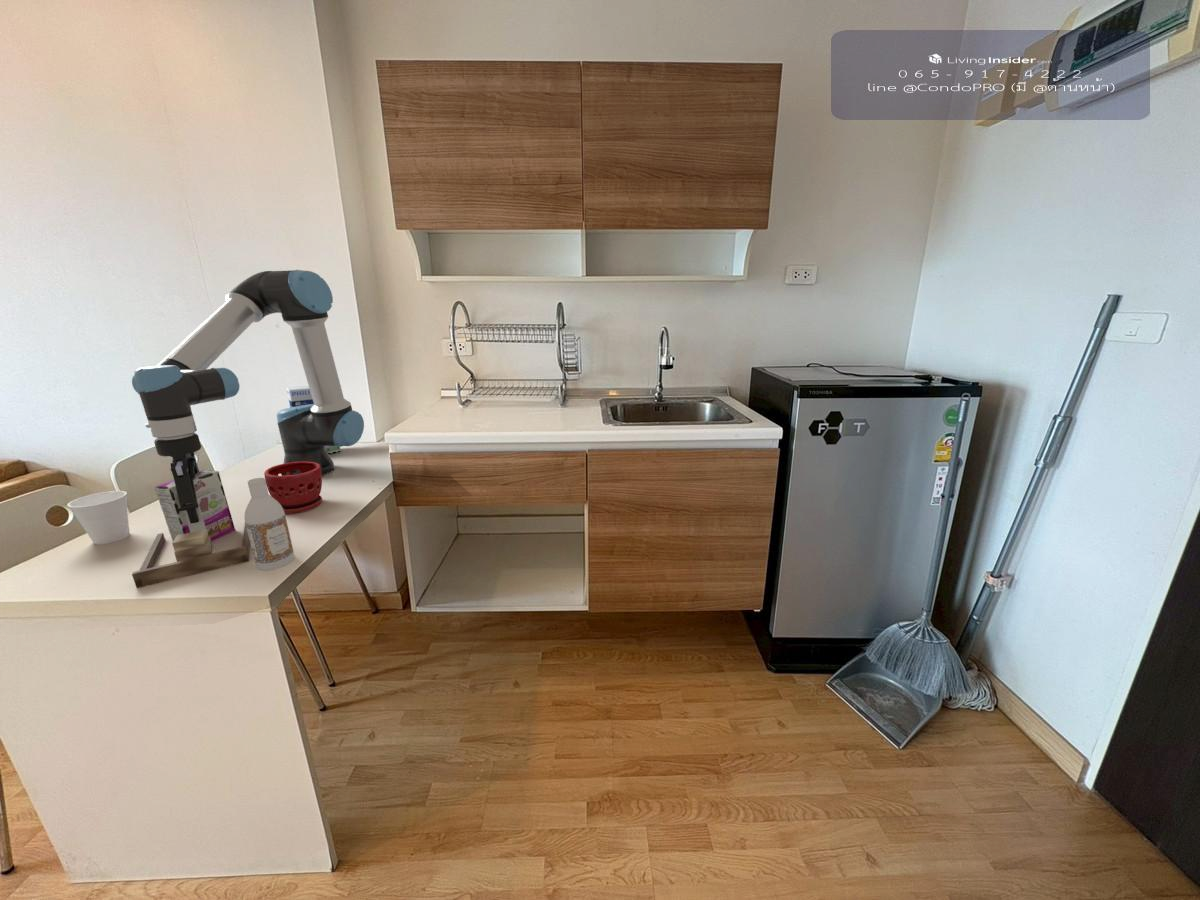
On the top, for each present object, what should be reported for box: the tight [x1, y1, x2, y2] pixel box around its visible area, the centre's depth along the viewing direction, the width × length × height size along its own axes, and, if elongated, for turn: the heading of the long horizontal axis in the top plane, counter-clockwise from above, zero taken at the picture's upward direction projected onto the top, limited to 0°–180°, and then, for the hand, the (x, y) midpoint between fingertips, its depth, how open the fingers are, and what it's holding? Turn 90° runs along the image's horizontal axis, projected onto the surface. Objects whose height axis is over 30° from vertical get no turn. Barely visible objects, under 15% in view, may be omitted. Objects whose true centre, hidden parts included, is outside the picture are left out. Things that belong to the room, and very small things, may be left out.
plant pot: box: [263, 462, 323, 515], centre depth 129 cm, size 13×13×12 cm
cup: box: [66, 490, 131, 545], centre depth 111 cm, size 10×10×11 cm
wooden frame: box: [131, 523, 251, 589], centre depth 106 cm, size 18×24×4 cm
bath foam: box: [244, 477, 296, 572], centre depth 98 cm, size 7×7×20 cm
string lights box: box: [286, 385, 342, 454], centre depth 176 cm, size 13×8×26 cm, turn 130°
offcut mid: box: [173, 537, 213, 562], centre depth 100 cm, size 6×5×2 cm
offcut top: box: [171, 530, 209, 552], centre depth 99 cm, size 5×4×2 cm
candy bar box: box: [154, 469, 236, 542], centre depth 109 cm, size 11×5×16 cm, turn 168°
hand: (201, 525), depth 111 cm, fingers closed on candy bar box, 9 cm apart
